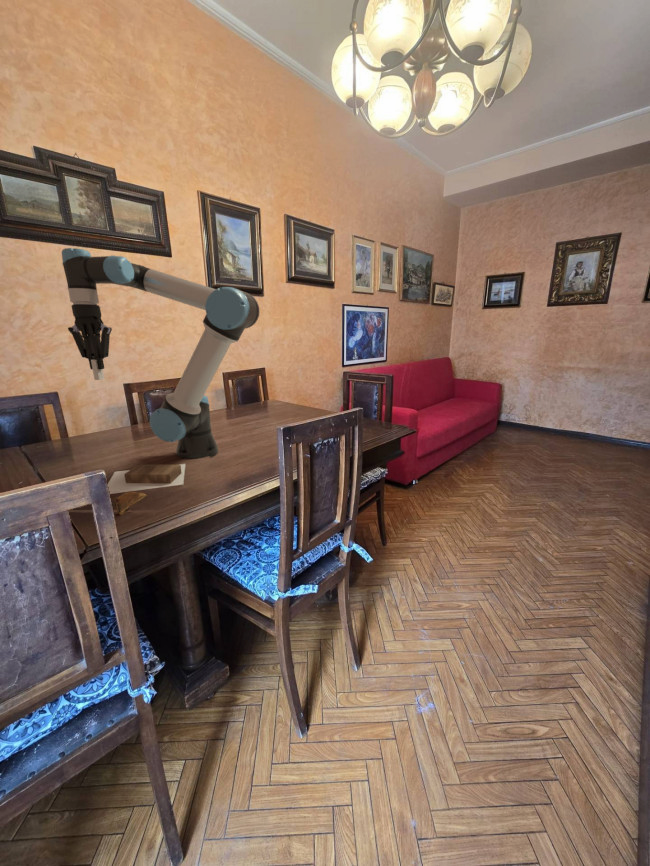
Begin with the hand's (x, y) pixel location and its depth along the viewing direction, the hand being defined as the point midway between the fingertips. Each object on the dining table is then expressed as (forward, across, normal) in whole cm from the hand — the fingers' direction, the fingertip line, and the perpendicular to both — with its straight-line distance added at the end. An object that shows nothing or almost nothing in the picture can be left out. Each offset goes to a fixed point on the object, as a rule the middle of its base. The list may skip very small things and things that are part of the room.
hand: (99, 379), depth 116 cm
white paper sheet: (+30, -19, +13) cm, 38 cm away
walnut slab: (+28, -14, +14) cm, 34 cm away
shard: (+31, -22, +29) cm, 48 cm away
